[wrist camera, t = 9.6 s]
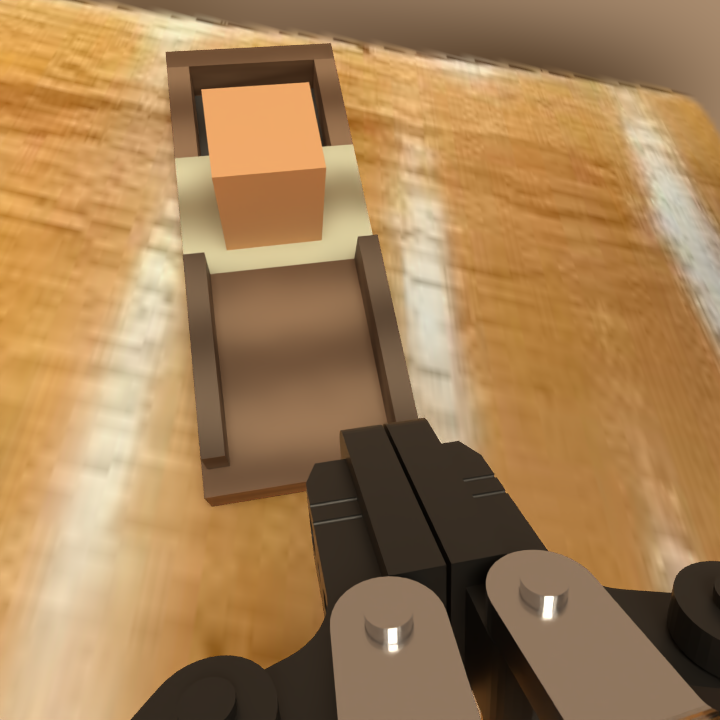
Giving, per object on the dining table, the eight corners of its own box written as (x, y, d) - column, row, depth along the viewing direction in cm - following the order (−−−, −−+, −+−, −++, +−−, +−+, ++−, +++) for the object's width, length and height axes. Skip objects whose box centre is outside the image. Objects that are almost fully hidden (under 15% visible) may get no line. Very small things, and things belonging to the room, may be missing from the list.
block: (321, 240, 39) (326, 167, 32) (226, 250, 38) (211, 177, 31) (307, 164, 41) (308, 82, 34) (217, 172, 40) (201, 89, 33)
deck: (413, 473, 37) (431, 452, 32) (212, 506, 35) (197, 490, 30) (328, 75, 48) (332, 13, 43) (173, 85, 46) (158, 21, 41)
